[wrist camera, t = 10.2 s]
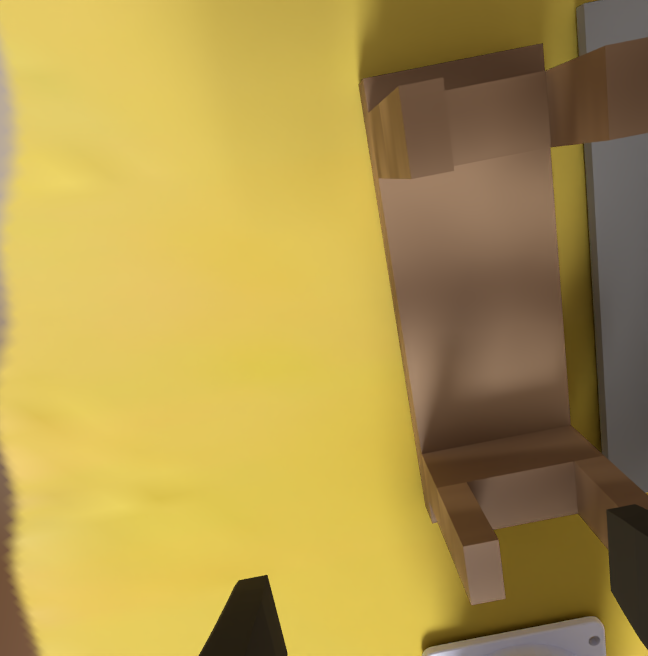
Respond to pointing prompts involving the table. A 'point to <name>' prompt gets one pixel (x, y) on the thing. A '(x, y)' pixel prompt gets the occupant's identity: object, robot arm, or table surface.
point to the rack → (493, 284)
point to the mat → (619, 257)
